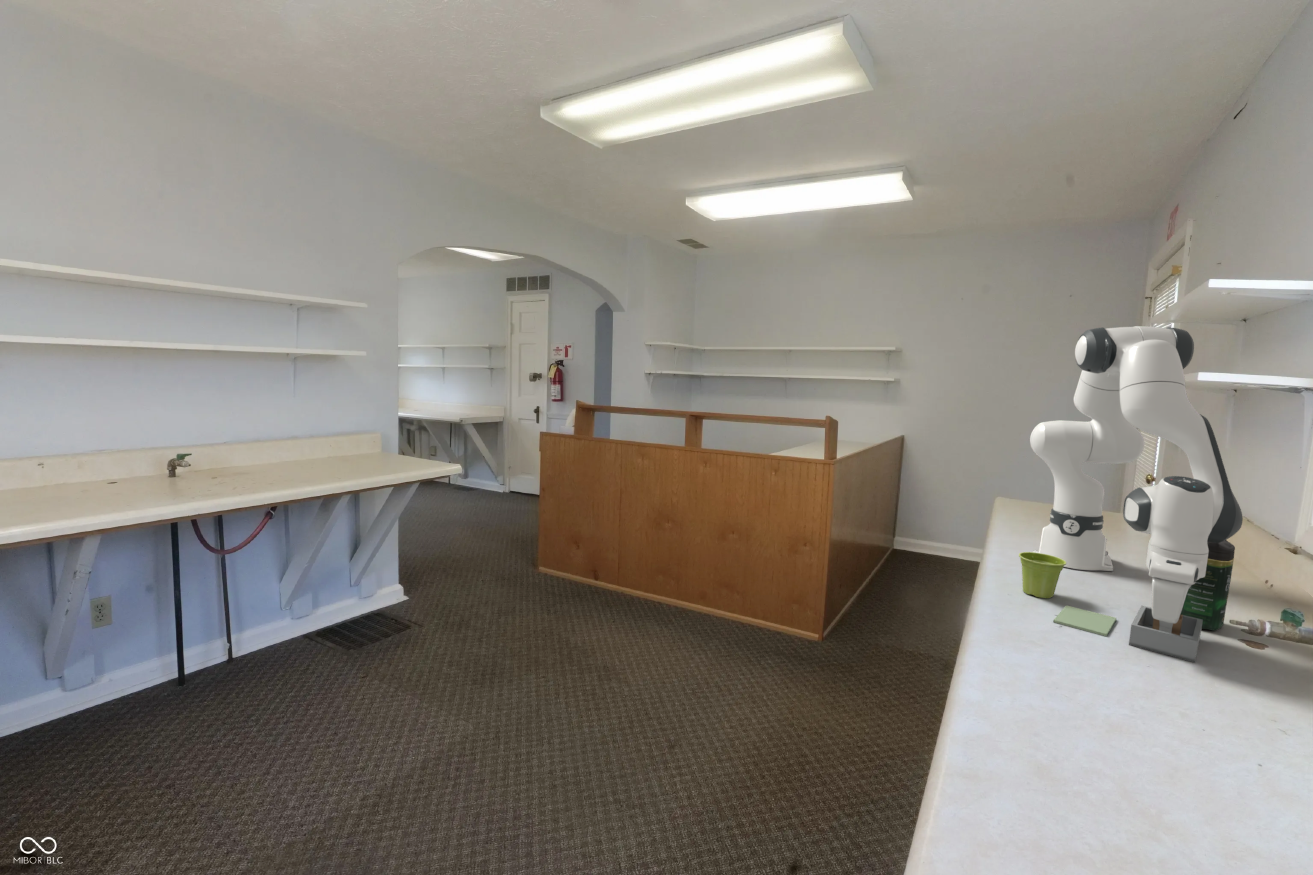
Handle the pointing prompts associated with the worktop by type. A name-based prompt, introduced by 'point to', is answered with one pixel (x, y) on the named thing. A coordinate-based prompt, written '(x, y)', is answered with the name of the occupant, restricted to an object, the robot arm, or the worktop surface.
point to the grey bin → (1166, 636)
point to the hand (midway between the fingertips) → (1166, 631)
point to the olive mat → (1085, 620)
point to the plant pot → (1040, 573)
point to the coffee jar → (1212, 587)
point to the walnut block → (1175, 628)
